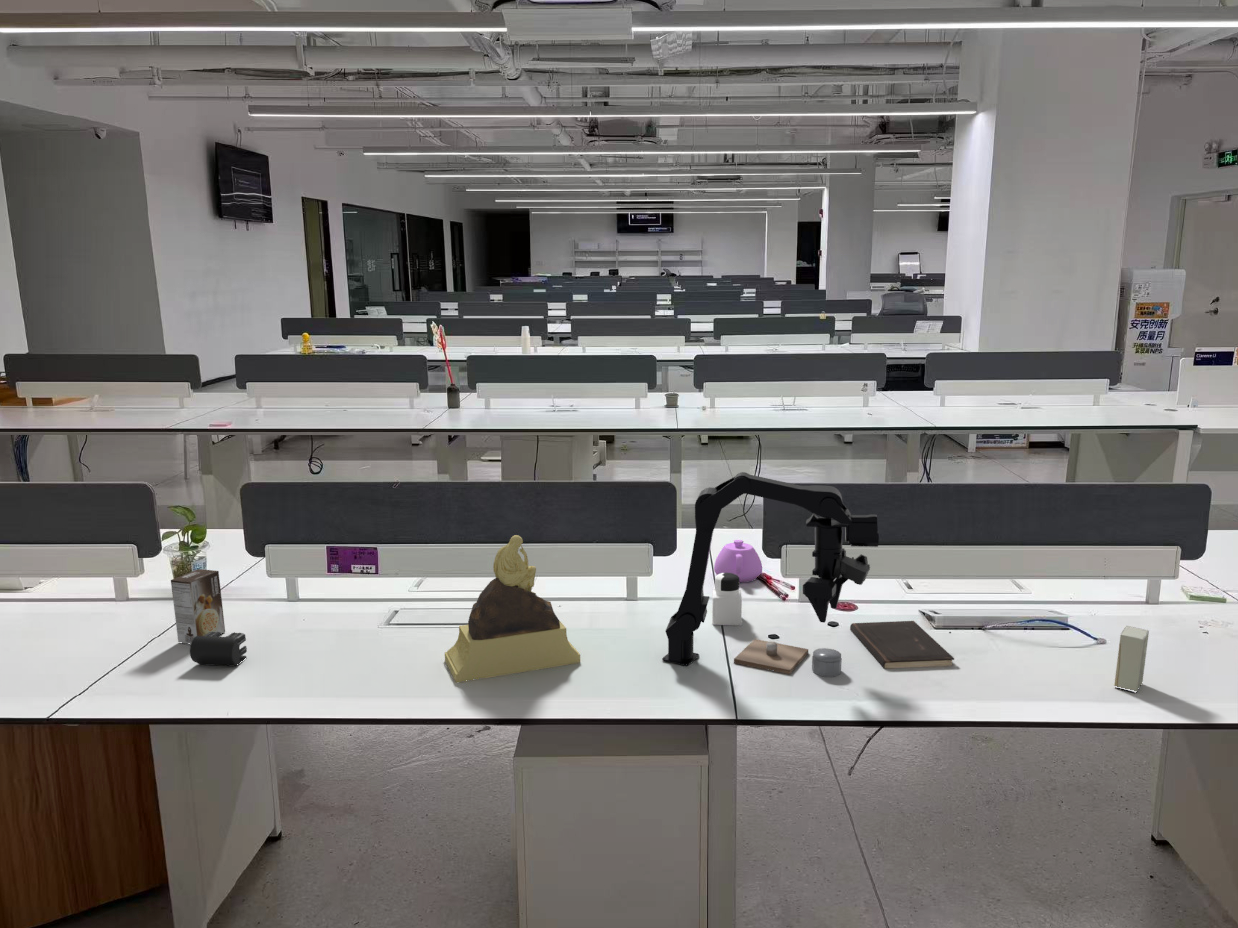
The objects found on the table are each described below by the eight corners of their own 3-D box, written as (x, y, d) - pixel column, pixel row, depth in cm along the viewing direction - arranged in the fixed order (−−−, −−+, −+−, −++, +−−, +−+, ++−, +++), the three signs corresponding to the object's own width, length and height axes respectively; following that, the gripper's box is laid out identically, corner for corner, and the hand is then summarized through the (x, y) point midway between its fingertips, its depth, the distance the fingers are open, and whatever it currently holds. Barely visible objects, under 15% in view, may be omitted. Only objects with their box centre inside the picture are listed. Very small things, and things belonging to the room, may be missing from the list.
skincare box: (1120, 678, 198) (1126, 624, 195) (1143, 684, 195) (1149, 629, 192) (1113, 688, 193) (1119, 633, 190) (1137, 694, 190) (1143, 638, 188)
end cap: (191, 669, 207) (187, 640, 205) (208, 656, 214) (205, 628, 212) (233, 671, 206) (230, 642, 204) (249, 658, 212) (246, 630, 211)
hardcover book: (913, 629, 227) (913, 620, 227) (953, 668, 205) (954, 658, 204) (849, 632, 226) (850, 623, 226) (883, 671, 204) (884, 661, 203)
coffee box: (205, 629, 230) (198, 567, 227) (226, 632, 228) (220, 570, 225) (177, 643, 221) (169, 579, 218) (198, 646, 219) (191, 582, 216)
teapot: (760, 565, 277) (761, 530, 275) (763, 587, 258) (764, 550, 255) (714, 564, 279) (714, 529, 276) (713, 585, 259) (714, 549, 257)
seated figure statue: (562, 642, 220) (560, 520, 214) (580, 662, 208) (578, 534, 202) (445, 660, 210) (438, 533, 204) (456, 683, 198) (450, 549, 193)
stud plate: (789, 674, 201) (790, 659, 200) (733, 662, 207) (734, 648, 207) (808, 653, 212) (808, 638, 211) (754, 642, 218) (755, 628, 218)
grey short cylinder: (836, 678, 199) (836, 661, 198) (808, 673, 202) (809, 656, 201) (843, 668, 204) (844, 651, 203) (817, 663, 207) (817, 646, 206)
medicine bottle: (740, 615, 236) (741, 570, 234) (741, 625, 229) (742, 579, 227) (712, 614, 237) (712, 570, 234) (712, 625, 230) (712, 579, 227)
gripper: (855, 561, 186) (855, 635, 189) (876, 537, 202) (875, 605, 205) (801, 556, 191) (802, 627, 194) (825, 533, 207) (825, 599, 210)
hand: (828, 614), depth 201 cm, fingers open, 9 cm apart
